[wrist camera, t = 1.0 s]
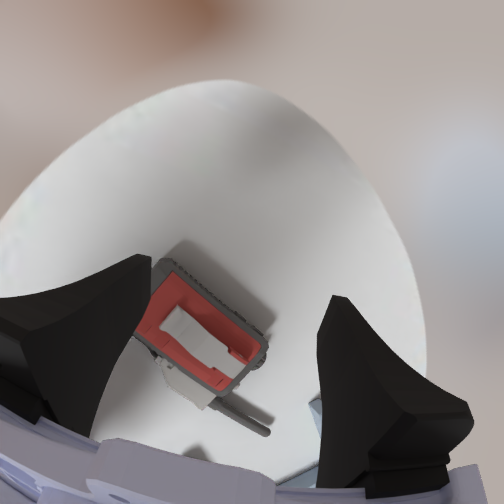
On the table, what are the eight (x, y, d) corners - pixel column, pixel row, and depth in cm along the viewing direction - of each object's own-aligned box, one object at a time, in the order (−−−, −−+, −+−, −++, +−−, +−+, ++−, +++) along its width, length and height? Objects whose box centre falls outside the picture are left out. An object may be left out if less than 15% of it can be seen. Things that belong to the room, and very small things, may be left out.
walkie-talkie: (92, 319, 24) (258, 433, 29) (80, 335, 20) (271, 458, 25) (156, 241, 25) (314, 373, 30) (155, 244, 21) (335, 392, 26)
